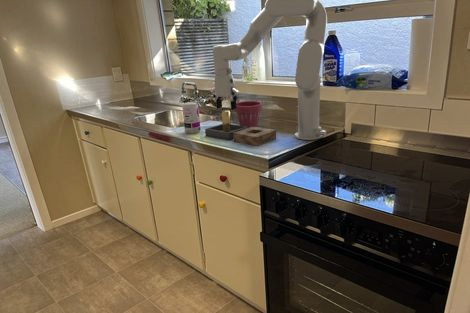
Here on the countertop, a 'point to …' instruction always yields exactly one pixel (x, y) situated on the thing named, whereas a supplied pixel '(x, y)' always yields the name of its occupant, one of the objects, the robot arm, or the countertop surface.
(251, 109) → the plant pot
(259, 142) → the wooden block with hole
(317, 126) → the robot arm
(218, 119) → the countertop surface
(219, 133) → the black tray
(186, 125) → the supplement can
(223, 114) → the brass pin
